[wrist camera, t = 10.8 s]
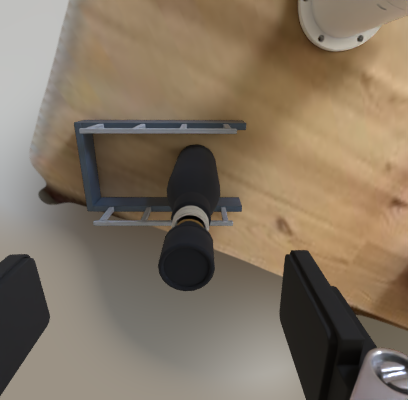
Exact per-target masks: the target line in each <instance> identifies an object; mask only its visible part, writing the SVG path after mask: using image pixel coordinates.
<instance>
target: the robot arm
mask: <svg viewBox="0 0 408 400" xmlns="http://www.w3.org/2000/svg"><path fill="white" fill-rule="evenodd" d="M298 15H299V20H300V24H301V26H302V29H303V31H304V33H305V34H306V36H307V37H308V39H309V40H310V41H311V42H312V43H313V44H315V45H316V46H318V47H320V48H322V49H324V50H327V51H335V52H338V51H345V50H349V49H352V48H355V47H357V46H360V45H361V44H363V43H364V42H366V41H367V40H369V39H370V38H371V37H372V36H373V35H374V34H375V33H376V32H377V31H378V30H379V28H380V27H381V26H382V25H383V24H386V23H389V22H391V21H394V20H397V19H399V18H402V17H405V16H408V0H306V1H303V0H298ZM318 38H320V41H318ZM357 38H358V39H359V40H358V41H357ZM49 319H50V314H49V310H48V307H47V303H46V300H45V296H44V292H43V289H42V286H41V281H40V278H39V274H38V271H37V267H36V264H35V261H34V259H32V258H30V256H29V255H27V254H18V255H9V256H7V257H6V258H5V259H4V260H3V261H1V262H0V396H1V394H2V393H3V391H4V390H5V388H6V387H7V385H8V384H9V382H10V381H11V379H12V378H13V376H14V375H15V373H16V372H17V370H18V369H19V367H20V366H21V364H22V363H23V361H24V360H25V358H26V357H27V355H28V353H29V352H30V351H31V349H32V348H33V346H34V345H35V343H36V342H37V340H38V339H39V337H40V336H41V334H42V333H43V331H44V330H45V328H46V327H47V325H48V323H49ZM280 321H281V324H282V327H283V330H284V334H285V337H286V340H287V343H288V345H289V349H290V352H291V355H292V358H293V361H294V364H295V367H296V370H297V373H298V376H299V379H300V382H301V385H302V388H303V392H304V395H305V398H306V400H408V356H407V355H405V354H403V353H402V352H399V351H396V350H393V349H389V348H377V347H376V345H375V344H374V342H373V341H372V339H371V338H370V336H369V335H368V333H367V332H366V330H365V329H364V327H363V326H362V324H361V323H360V321H359V320H358V318H357V317H356V315H355V314H354V312H353V311H352V309H351V308H350V306H349V305H348V303H347V302H346V300H345V299H344V297H343V296H342V294H341V293H340V291H339V290H338V289H337V288H336V287H334V286H330V284H329V283H328V281H327V279H326V278H325V276H324V275H323V273H322V272H321V270H320V269H319V267H318V265H317V264H316V262H315V261H314V259H313V258H312V256H311V255H310V253H309V252H308V251H307V250H292V251H291V252H290V254H286V256H285V263H284V273H283V283H282V293H281V303H280Z"/></svg>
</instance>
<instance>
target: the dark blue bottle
mask: <svg viewBox="0 0 408 400" xmlns="http://www.w3.org/2000/svg"><path fill="white" fill-rule="evenodd" d="M167 197H168V203H169V206H170V208H171V210H172V216H171V222H172V229H171V230H169V232H168V233H167V235H166V236H165V240H164V244H163V248H162V252H161V256H160V260H159V264H158V268H159V274H160V276H161V277H162V279H163V281H164V282H165V283H167V284H168V285H169V286H170V287H173V288H175V289H177V290H182V291H194V290H197V289H199V288H202V287H203V286H205V285H206V284H207V283H208V282H209V281H210V280H211V278H212V277H213V273H214V270H215V267H214V252H213V240H212V237H211V235H210V233H209V232H208V230H209V226H210V223H211V215H212V213H213V212H214V210H215V209H216V207H217V204H218V201H219V197H220V184H219V179H218V173H217V167H216V162H215V158H214V156H213V154H212V152H211V151H210V150H209V149H208V148H206V147H204V146H201V145H190V146H188V147H186V148H185V149H183V150H182V151H181V153H180V154H179V156H178V158H177V161H176V164H175V166H174V169H173V172H172V174H171V177H170V179H169V182H168V186H167Z"/></svg>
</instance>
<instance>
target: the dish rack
mask: <svg viewBox="0 0 408 400" xmlns="http://www.w3.org/2000/svg"><path fill="white" fill-rule="evenodd" d="M74 127H75V133H76V139H77V146H78V152H79V158H80V165H81V171H82V178H83V184H84V190H85V197H86V203H87V209H88V211H106V212H105V213H104V214H103V216H102V217H101V218H100V220H95V221H94V222H93V224H94V226H97V225H98V226H109V225H110V226H115V225H116V226H120V225H121V226H123V225H124V226H145V225H146V226H172V222H171V220H147V219H148V217H149V215H150V212H172V210H171V208H170V206H169V203H168V197H101V193H100V186H99V179H98V171H97V164H96V157H95V149H94V142H93V134H237V130H246V123H245V122H244V121H242V120H83V121H78V122H74ZM114 211H140V212H144V214H143V216H142V218H141V220H120V221H119V220H115V221H114V220H112V221H111V220H108V218H109V217H110V216H111V214H112V213H113V212H114ZM241 211H242V205H241V202H240V199H239V197H219V201H218V204H217V207H216V209H215V210H214V212H221V213H222V220H223V221H211V223H210V226H233V221H228V218H227V213H226V212H241Z"/></svg>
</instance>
